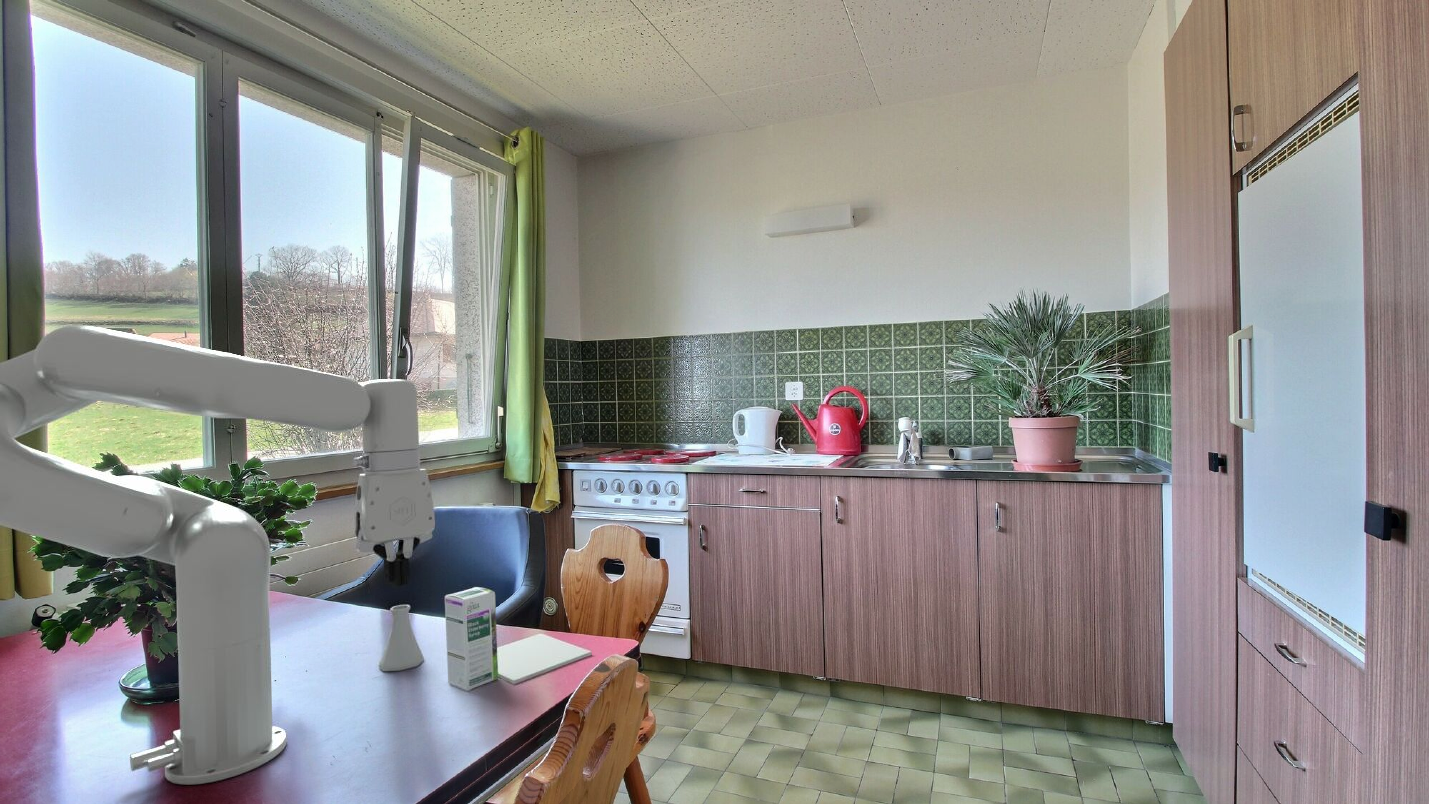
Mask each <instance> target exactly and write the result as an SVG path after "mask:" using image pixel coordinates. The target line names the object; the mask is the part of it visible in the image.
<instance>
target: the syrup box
mask: <svg viewBox="0 0 1429 804" xmlns="http://www.w3.org/2000/svg"><path fill="white" fill-rule="evenodd" d="M444 610H445V615H444V617H445V637H446V662H447V663H446V664H447V682H448V684H449V685H452V684H453V685H454V687H456V686H457V687H456V688H457V689H458V688H459V689H460V690H464V691H466V692H469V691H471V690H472V689H476V688H477V687H481V686H483V685H485V684H488V683H491V682H494V681H496V680H498V679H499V677H498V660H497V648H498V638H497V637H498V635H497V616H496V615H497V609H496V593H495V591H494V590H491V589H489V588H485V587H479V586H478V587H477V586H474V587H472V588H469V589H464V590H463V591H462V590H461V591H458V592H454V593H450V594H446V595H444ZM453 685H452V686H453Z"/></svg>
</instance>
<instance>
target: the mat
mask: <svg viewBox="0 0 1429 804" xmlns="http://www.w3.org/2000/svg"><path fill="white" fill-rule="evenodd" d="M589 656H592V651H591V650H588V649H586V648H583V647H580V646H577V645H575V644H572V643H568V642H566V641H563V640H560V639H558V638H554V637H553V636H550V635H546V634H544V633H538V634H535V635H531V636H529V637H528V636H527V637H526V638H523V639H520V640H516V641H513V642H511V643H507V644H504V645H501V646H497V660H498V679H499V678H500V679H501V680H503V681H505V682H508V683H509V684H513V685H517V684H519V683H521V682H524V681H527V680H529V679H532V678H534V677H537V676H541V675H542V674H545V673H548V672H550V671H553V670H556V669H558V668H561V667H564V666H567V665H569V664H571V663H574V662H577V661H579V660H581V659H584V658H587V657H589Z"/></svg>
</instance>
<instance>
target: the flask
mask: <svg viewBox="0 0 1429 804" xmlns="http://www.w3.org/2000/svg"><path fill="white" fill-rule="evenodd" d="M410 610H411V605H410V604H399V605H395V606H392V607H391V608H390V609H389V611H390V612H391V626H390V632H389V634H388V638H387V641H386V644H385V647H384V650H383V652H382V655H381V658H380V662H379V665H378V667H379V668H380V670H381V671H382V672H396V671H397V672H398V671H404V670H407V669H411V668H415V667H418V666H420V664H422V662H423V661H425V657H424V654H423V653H422V650H421V648H420V646H419V644H418V642H417V639H416V636H415V634H414V631H413V629H412V626H411V622H410V612H409V611H410Z"/></svg>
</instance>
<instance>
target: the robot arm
mask: <svg viewBox="0 0 1429 804" xmlns="http://www.w3.org/2000/svg"><path fill="white" fill-rule="evenodd" d="M417 392H418V391H417V387H416V384H415V383H414V382H413V381H411V380H407V379H401V378H400V379H372V380H368V381H366V382H358V381H356V380H354V379H352V378H350V377H346V376H342V375H338V374H333V373H329V372H328V373H327V372H325V371H323V372H322V371H318V370H314V369H309V368H304V367H300V366H299V367H298V366H293V365H289V364H283V363H282V364H281V363H278V362H271V361H267V360H260V359H256V358H255V359H254V358H250V357H247V356H241V355H237V354H233V353H230V352H223V351H219V350H211V349H208V348H202V347H196V346H191V345H186V344H182V343H177V342H171V341H168V340H163V339H157V338H152V337H148V336H143V335H138V334H133V333H130V332H129V333H128V332H123V331H119V330H118V331H117V330H113V329H108V328H102V327H98V326H92V325H91V326H90V325H83V324H82V325H80V324H77V325H67V326H62V327H59V328H56V329H54V330H52V331H50V332H49V333H48V334H46V335H45V336H43V337H42V339H40V341H39V343H38V344H37V345H36V347H35V349H33V350H30V351H28V352H26V353H23V354H20V355H18V356H15V357H13V358H10V359H8V360H5V361H3V362H0V526H2V527H6V528H8V529H13V530H16V531H18V532H21V533H25V534H28V535H31V536H34V537H38V538H42V539H45V540H49V541H51V542H57V543H58V544H62V545H65V546H70V547H74V548H76V549H80V550H83V551H84V552H85V551H86V552H88V553H92V554H94V555H97V556H101V557H106V558H112V559H125V558H131V557H137V556H139V557H142V558H147V559H150V560H155V561H157V562H161V563H163V564H164V563H165V564H169V565H172V566H175V582H176V583H175V586H176V590H175V593H176V631H177V633H176V635H177V638H176V639H177V650H178V652H177V653H178V654H177V656H178V658H177V659H178V690H179V693H178V694H179V696H178V697H179V729H177V730H174V731H173V732H172V733H173V734H172V735H173V737H172V739H169V740H166V741H164V742H163V745H160V746H157V747H153V748H151V749H150V748H148V749H144V750H142V751H139V752H136V753H132V754H130V756H129V763H130V770H131V772H134V771H138V770H140V769H143V768H147V772H148V773H150V772H153V771H157V770H159V769H162V768H163V767H164V777H165V779H166V780H167V781H169V782H171V783H173V784H177V785H187V786H188V785H202V784H207V783H214V782H218V781H222V780H226V779H229V778H232V777H236V776H239V775H242V774H244V773H247V772H249V771H251V770H254V769H256V768H260V766H262V765H264V764H266V763H267V762H269V761H271V760H272V759H274V758H275V757H277V756H278V755H279V754H280V753H281V752H283V750H284V749H285V747H286V746H287V743H288V742H287V740H288V739H287V738H288V737H287V736H288V735H287V733H286V730H284V729H283V728H281V727H279V726H273V700H272V699H273V698H272V697H273V696H272V695H273V694H272V691H273V690H272V688H273V687H272V655H271V654H272V653H271V651H272V650H271V649H272V647H271V627H270V626H271V622H270V581H271V580H270V579H271V566H272V562H271V561H272V557H271V556H272V555H271V553H272V552H271V544H270V540H269V537H268V534H267V533H266V530H265V529H264V527H263V526H262V524H261V523H260V522H258V521H257V519H256V518H255V517H253V516H252V515H250V514H249V513H248V512H246V511H245V510H244V509H241V508H239V507H236V506H234V505H230V504H228V503H224V502H221V501H220V500H219V501H218V500H216V499H212V498H209V497H206V496H204V495H201V494H198V493H194V492H192V491H189V490H186V489H184V488H180V487H178V486H175V485H171V484H168V483H165V482H162V481H159V480H156V479H153V478H149V477H146V476H141V475H132V474H131V475H118V476H116V475H113V474H109V473H106V472H102V471H100V470H96V469H93V468H90V467H86V466H83V465H80V464H77V463H75V462H72V461H71V460H67V459H66V458H65V459H64V458H62V457H60V456H56V455H52V454H50V453H46V452H42V451H40V450H37V449H35V448H32V447H30V446H27V445H24V443H23V444H22V442H19V441H18V440H17V439H16V438H18V437H20V436H23V435H26V434H27V433H30V432H32V431H35V430H36V429H39V428H41V427H43V426H45V425H48V424H50V423H52V422H56V421H58V420H59V419H62V418H64V417H66V416H68V415H71V414H74V413H75V412H78V411H79V410H82V409H84V408H87V407H89V406H90V405H92V404H95V403H97V402H105V403H114V404H119V405H127V406H132V407H133V406H134V407H140V408H146V409H147V408H148V409H153V410H159V411H166V412H174V413H177V414H178V413H180V414H186V415H192V416H197V417H199V416H200V417H205V418H214V419H246V420H252V421H253V420H256V421H261V422H262V421H263V422H271V423H275V424H276V423H277V424H282V425H290V426H296V427H302V428H308V429H313V430H316V431H319V432H325V433H326V432H327V433H347V432H349V431H352V430H355V429H357V428H360V427H361V430H362V431H361V432H362V433H361V436H362V451H363V452H361V456H359V457H354V458H353V460H352V461H353V462H352V463H353V464H352V465H353V466H354V468H358V467H359V468H361V469H362V471H363V473H360V474H359V476H358V481H357V485H356V494H355V500H354V501H355V505H354V532H355V533H354V534H355V537H356V540H357V541H356V544H355V550H356V551H357V552H360V553H374V554H375V555H376V556H378V557H379V558H380V559H382V560H383V574H384V575H383V576H384V581H385V583H387V585H388V586H389V587H392V588H395V589H397V588H400V587H405V586H407V585H408V578H410V558H411V557H412V555H413V552H414V550H416V548H417V547H418V546H419V544H422V543H424V542H425V543H426V542H427V541H429V540H431V539H432V538H433V531H434V530H435V524H436V522H435V509H434V501H433V494H432V488H431V484H430V480H429V475H428V472H427V469H426V468H421V462H420V461H421V457H420V437H419V436H420V435H419V434H420V433H419V416H418V413H419V412H418V393H417ZM395 541H396V549H395V545H394V542H395Z"/></svg>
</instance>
